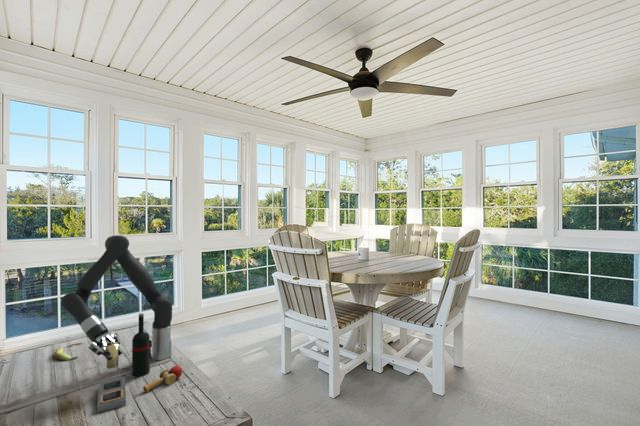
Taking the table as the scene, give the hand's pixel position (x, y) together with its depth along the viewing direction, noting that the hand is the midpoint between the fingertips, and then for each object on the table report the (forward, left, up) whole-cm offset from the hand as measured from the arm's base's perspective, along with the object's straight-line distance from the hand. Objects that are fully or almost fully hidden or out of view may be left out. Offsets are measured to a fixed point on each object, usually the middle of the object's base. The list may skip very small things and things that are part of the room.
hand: (116, 356), depth 145 cm
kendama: (-19, +5, -16) cm, 25 cm away
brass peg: (+1, -1, -5) cm, 5 cm away
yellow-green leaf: (+24, -56, -17) cm, 64 cm away
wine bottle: (-12, -13, -16) cm, 24 cm away
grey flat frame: (+1, +4, -16) cm, 16 cm away
